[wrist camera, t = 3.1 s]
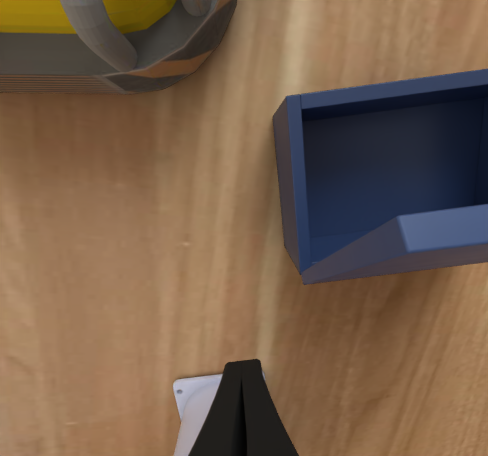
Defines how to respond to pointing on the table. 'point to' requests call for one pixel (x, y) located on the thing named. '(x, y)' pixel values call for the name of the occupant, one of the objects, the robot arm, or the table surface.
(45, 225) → the table surface
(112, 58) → the cage light
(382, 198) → the case
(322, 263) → the lid
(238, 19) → the table surface
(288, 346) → the table surface
